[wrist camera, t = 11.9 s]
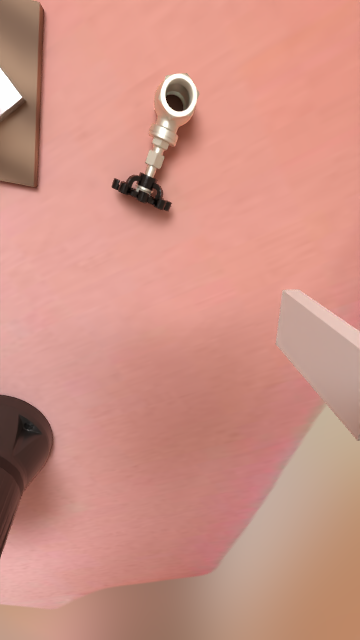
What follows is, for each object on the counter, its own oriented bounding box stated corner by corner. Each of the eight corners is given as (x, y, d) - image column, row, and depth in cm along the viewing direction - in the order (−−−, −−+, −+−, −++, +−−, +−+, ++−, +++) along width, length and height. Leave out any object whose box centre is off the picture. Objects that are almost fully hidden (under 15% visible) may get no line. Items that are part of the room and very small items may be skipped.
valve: (150, 72, 36) (113, 186, 39) (153, 51, 30) (109, 188, 33) (206, 102, 37) (166, 208, 41) (220, 88, 31) (171, 214, 35)
